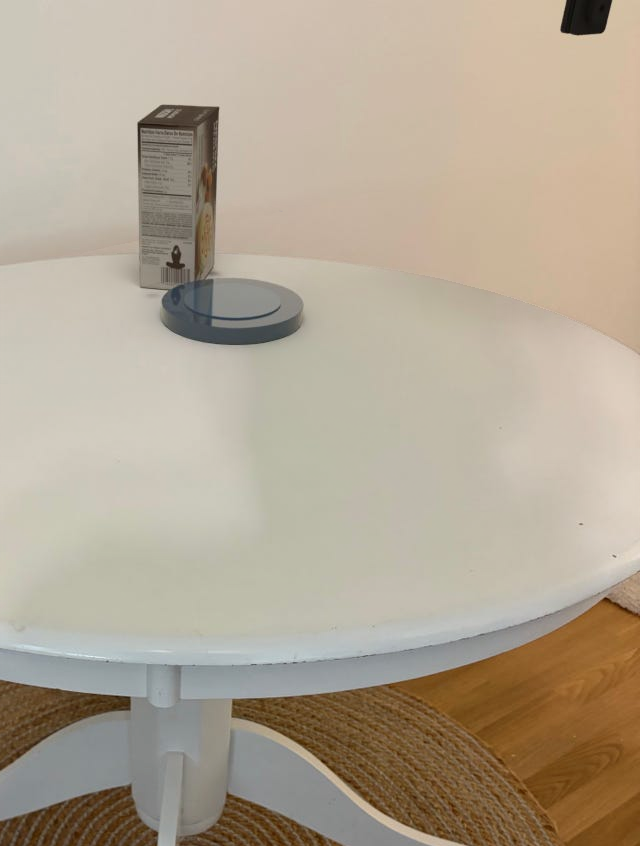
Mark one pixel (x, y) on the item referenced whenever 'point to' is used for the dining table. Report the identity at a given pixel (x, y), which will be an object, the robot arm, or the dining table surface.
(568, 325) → the dining table surface
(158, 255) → the coffee box
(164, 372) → the dining table surface
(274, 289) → the plate
